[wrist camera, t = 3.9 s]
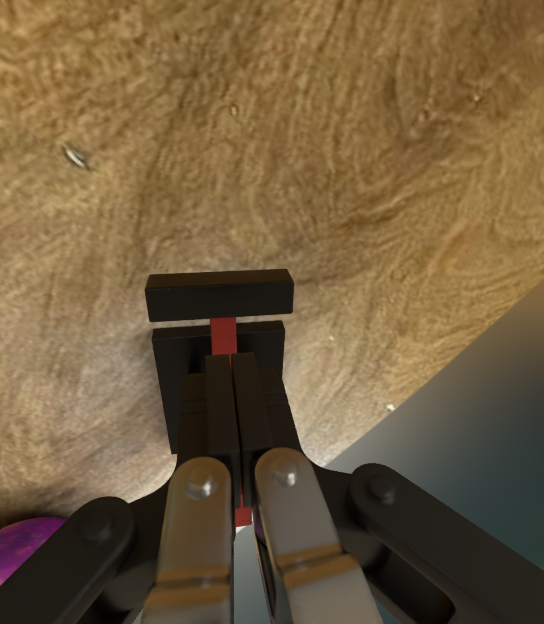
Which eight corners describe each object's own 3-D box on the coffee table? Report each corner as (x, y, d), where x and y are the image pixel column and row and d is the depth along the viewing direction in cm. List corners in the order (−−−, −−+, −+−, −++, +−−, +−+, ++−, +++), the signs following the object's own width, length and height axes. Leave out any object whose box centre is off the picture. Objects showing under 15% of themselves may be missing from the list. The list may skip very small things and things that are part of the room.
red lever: (149, 270, 16) (142, 293, 14) (285, 264, 17) (297, 285, 15) (181, 498, 23) (179, 536, 21) (276, 485, 24) (283, 520, 22)
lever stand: (153, 328, 26) (129, 467, 17) (282, 320, 27) (323, 444, 18) (172, 442, 32) (162, 587, 23) (275, 431, 33) (304, 563, 24)
